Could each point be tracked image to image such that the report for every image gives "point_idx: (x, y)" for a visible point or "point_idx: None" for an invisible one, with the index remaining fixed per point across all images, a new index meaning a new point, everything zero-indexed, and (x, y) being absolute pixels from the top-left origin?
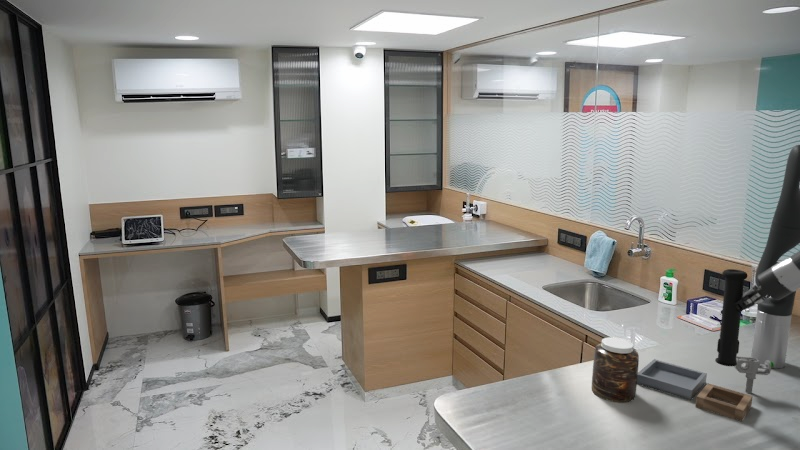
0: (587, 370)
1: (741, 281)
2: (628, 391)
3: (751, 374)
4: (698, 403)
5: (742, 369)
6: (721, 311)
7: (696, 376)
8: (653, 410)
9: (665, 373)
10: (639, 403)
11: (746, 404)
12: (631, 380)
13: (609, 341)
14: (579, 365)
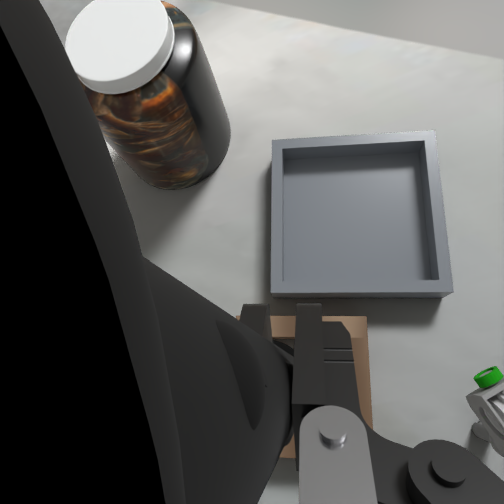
0: (265, 43)
1: None
2: (136, 170)
3: (499, 446)
4: None
5: (480, 414)
6: (244, 309)
7: (433, 267)
8: (148, 244)
9: (396, 188)
10: (164, 206)
11: (286, 455)
12: (127, 158)
13: (111, 12)
14: (281, 17)
